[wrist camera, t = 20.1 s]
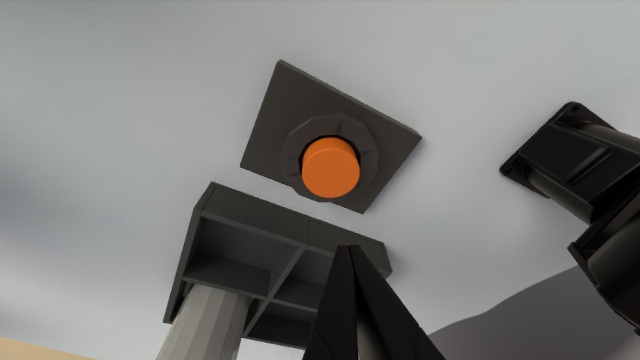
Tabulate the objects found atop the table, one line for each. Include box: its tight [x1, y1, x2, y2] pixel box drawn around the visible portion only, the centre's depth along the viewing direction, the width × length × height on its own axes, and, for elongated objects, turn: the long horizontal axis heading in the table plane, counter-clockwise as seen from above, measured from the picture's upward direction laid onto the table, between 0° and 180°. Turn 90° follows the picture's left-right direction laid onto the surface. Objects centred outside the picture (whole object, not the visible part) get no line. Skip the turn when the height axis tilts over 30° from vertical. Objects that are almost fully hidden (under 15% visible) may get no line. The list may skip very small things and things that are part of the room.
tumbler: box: [156, 283, 251, 360], centre depth 21 cm, size 6×6×13 cm
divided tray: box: [163, 182, 392, 350], centre depth 25 cm, size 18×18×4 cm
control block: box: [240, 60, 422, 214], centre depth 17 cm, size 11×8×3 cm
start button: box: [302, 138, 360, 198], centre depth 15 cm, size 4×4×2 cm
